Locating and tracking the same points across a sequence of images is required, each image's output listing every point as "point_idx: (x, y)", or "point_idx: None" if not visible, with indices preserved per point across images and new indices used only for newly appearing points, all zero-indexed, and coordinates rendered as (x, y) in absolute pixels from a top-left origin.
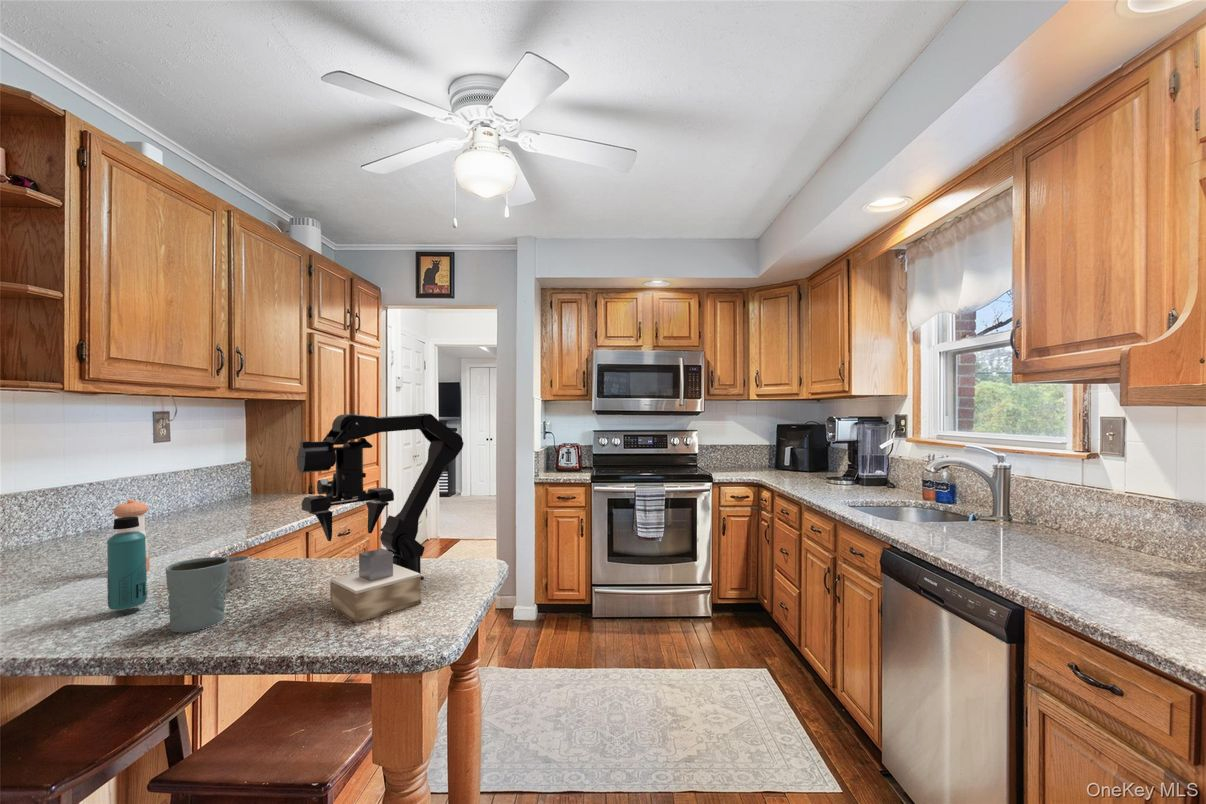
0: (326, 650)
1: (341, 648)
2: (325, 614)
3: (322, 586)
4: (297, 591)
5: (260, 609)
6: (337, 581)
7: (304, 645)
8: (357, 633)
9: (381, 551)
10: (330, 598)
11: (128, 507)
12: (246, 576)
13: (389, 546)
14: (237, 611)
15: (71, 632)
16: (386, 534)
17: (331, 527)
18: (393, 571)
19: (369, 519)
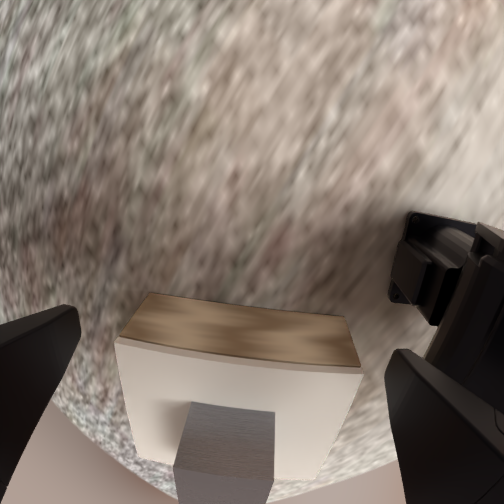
0: (91, 430)
1: (109, 441)
2: (127, 314)
3: (243, 49)
4: (164, 35)
5: (41, 127)
6: (122, 383)
7: (69, 396)
8: None
9: (244, 497)
10: (139, 307)
11: None
12: None
13: (429, 350)
14: (14, 99)
15: None
16: (477, 346)
17: (28, 430)
18: (292, 436)
19: (438, 440)
